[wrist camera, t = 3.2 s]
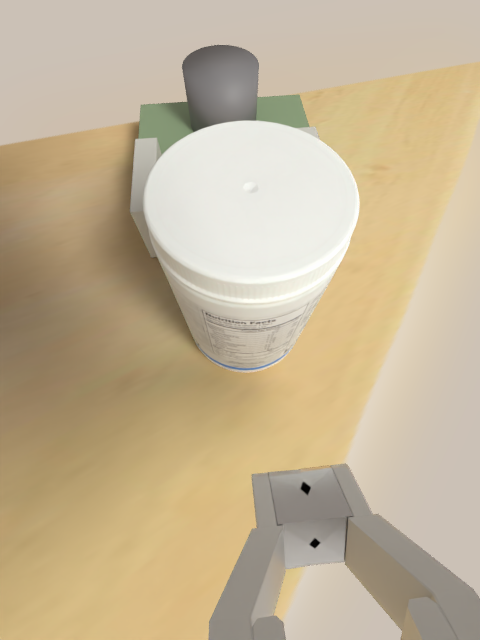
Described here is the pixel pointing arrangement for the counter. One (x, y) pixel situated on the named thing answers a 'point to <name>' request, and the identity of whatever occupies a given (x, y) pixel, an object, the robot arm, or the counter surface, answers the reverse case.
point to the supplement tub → (249, 234)
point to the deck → (179, 118)
